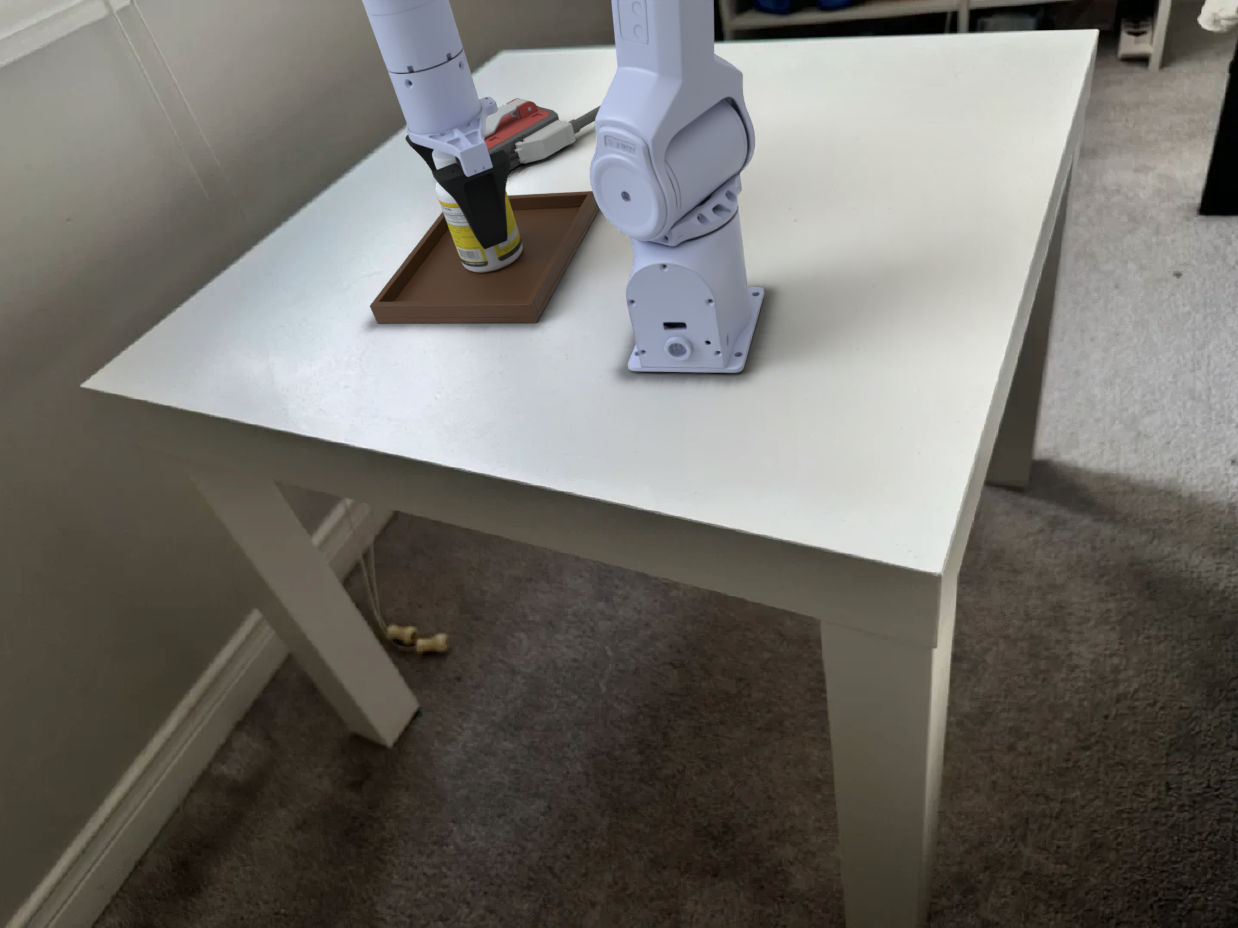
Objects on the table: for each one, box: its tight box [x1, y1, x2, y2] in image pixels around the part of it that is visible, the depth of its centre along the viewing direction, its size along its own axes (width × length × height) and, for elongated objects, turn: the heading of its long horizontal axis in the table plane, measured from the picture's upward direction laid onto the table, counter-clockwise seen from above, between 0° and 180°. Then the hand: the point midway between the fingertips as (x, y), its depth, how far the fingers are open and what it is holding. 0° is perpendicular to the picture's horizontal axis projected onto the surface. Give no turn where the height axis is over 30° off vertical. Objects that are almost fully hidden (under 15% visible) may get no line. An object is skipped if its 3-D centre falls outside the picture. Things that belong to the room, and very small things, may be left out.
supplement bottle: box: [432, 149, 523, 273], centre depth 73 cm, size 5×5×10 cm
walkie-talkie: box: [484, 97, 601, 172], centre depth 91 cm, size 9×4×20 cm
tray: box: [369, 190, 600, 324], centre depth 76 cm, size 17×14×2 cm
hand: (481, 225), depth 74 cm, fingers open, 7 cm apart
